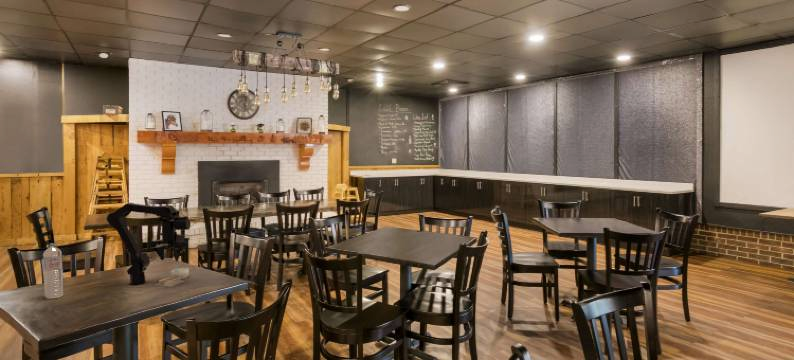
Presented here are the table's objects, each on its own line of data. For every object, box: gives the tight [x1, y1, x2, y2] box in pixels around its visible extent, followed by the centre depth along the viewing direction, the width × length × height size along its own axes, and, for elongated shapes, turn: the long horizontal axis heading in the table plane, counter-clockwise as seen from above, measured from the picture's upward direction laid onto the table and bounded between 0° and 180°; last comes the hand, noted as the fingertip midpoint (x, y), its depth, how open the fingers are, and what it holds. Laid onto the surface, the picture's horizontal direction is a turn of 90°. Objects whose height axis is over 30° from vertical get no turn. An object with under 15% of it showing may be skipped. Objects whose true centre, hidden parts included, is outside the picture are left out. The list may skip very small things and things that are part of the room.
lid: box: [158, 275, 182, 287], centre depth 231 cm, size 6×8×2 cm
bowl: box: [170, 267, 190, 280], centre depth 242 cm, size 8×8×5 cm
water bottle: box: [42, 242, 64, 300], centre depth 209 cm, size 7×7×25 cm
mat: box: [154, 280, 185, 287], centre depth 231 cm, size 10×10×1 cm
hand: (169, 260), depth 230 cm, fingers open, 9 cm apart
